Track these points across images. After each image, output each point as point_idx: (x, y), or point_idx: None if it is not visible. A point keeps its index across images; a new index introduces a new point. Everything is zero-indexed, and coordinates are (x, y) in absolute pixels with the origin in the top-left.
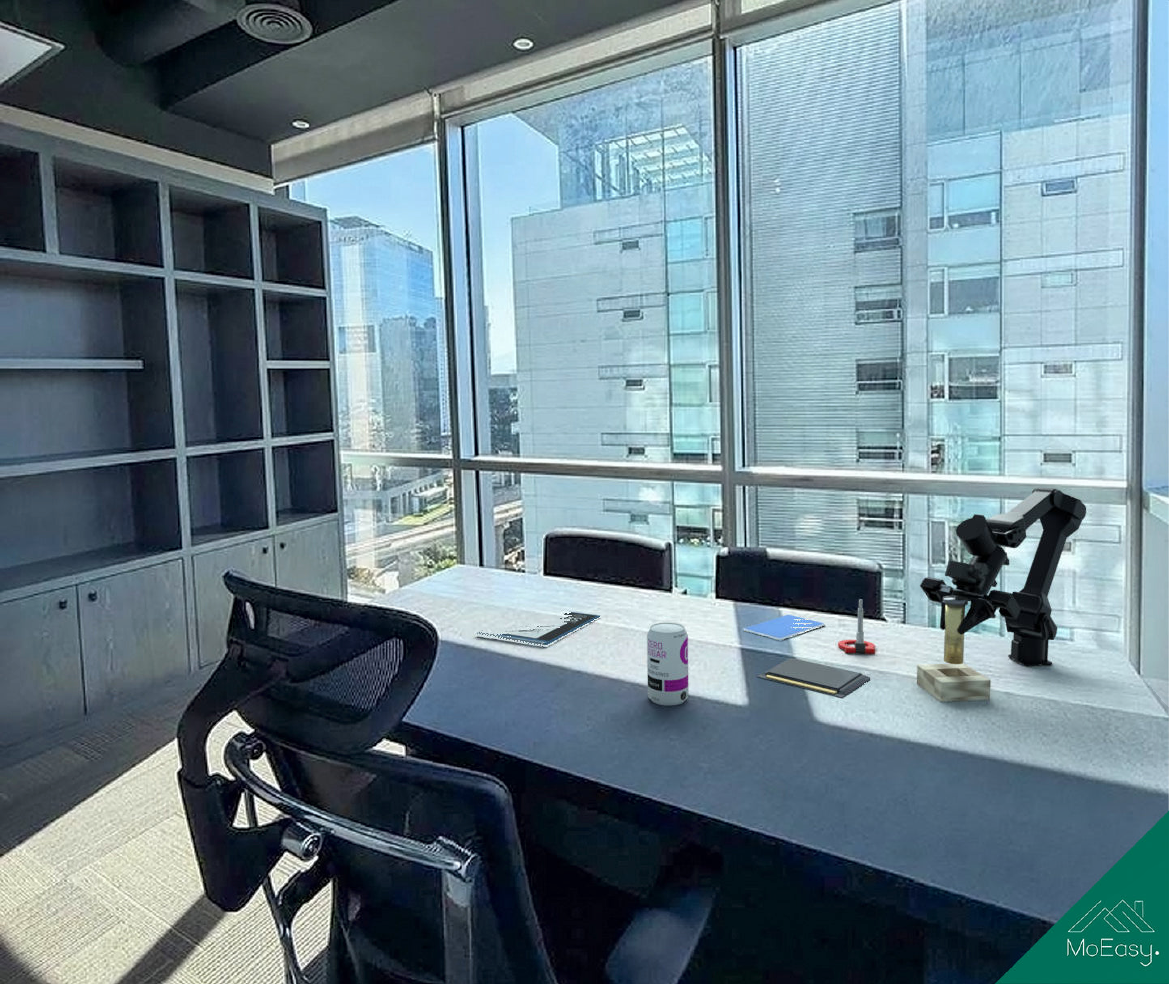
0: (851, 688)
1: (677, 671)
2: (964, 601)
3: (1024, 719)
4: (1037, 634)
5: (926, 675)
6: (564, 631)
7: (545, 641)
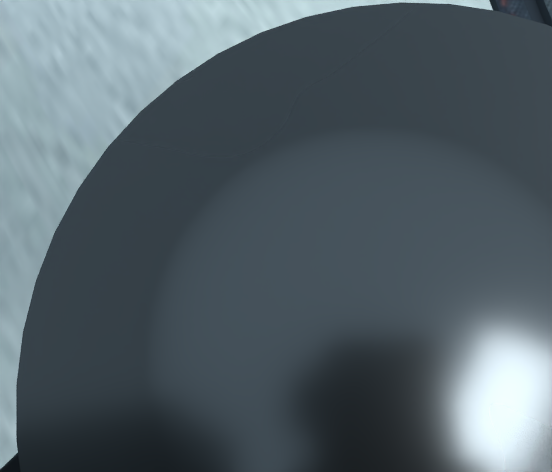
0: (508, 3)
1: None
2: (35, 300)
3: (16, 266)
4: None
5: None
6: None
7: None
